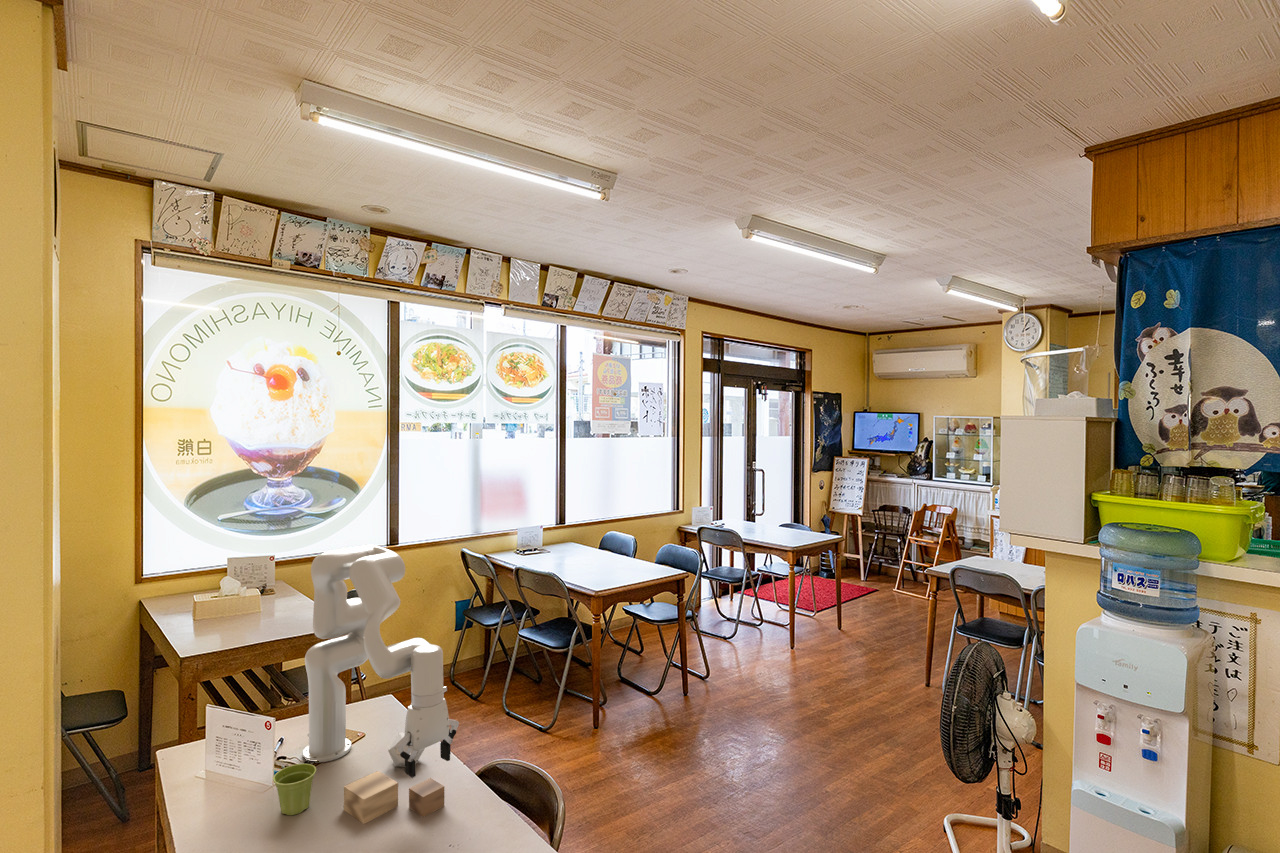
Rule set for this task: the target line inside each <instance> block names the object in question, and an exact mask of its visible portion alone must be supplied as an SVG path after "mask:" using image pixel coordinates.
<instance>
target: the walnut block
mask: <svg viewBox="0 0 1280 853" xmlns="http://www.w3.org/2000/svg"><path fill="white" fill-rule="evenodd" d="M408 788H409V789H408V808H409V809H410V810H412V811H413V812H415V814H418V815H419V816H421V817H422V818H424V817H427V816H428V815H430V814H432V813H434V812H436V811H437V810H440V809H441V808H443V807H445V785H444V784H441V783H440V782H438V781H436V780H435V779H433V778H431V777H430V778H428V779H425V780H423V781H421V782H419V783H417V784H414V785H413V786H410V787H408Z"/></svg>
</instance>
